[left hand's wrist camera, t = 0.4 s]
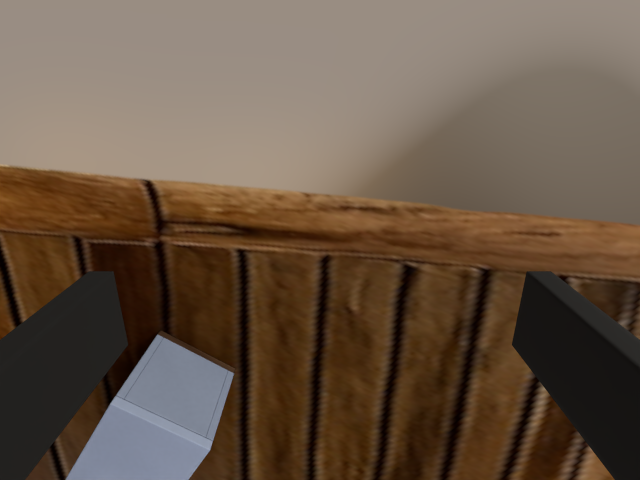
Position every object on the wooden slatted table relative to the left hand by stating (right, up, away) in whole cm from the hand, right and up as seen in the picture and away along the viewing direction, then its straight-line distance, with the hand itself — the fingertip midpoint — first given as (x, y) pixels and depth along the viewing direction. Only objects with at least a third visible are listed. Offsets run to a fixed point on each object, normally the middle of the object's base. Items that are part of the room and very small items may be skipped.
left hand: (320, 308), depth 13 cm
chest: (-19, -17, +35) cm, 43 cm away
